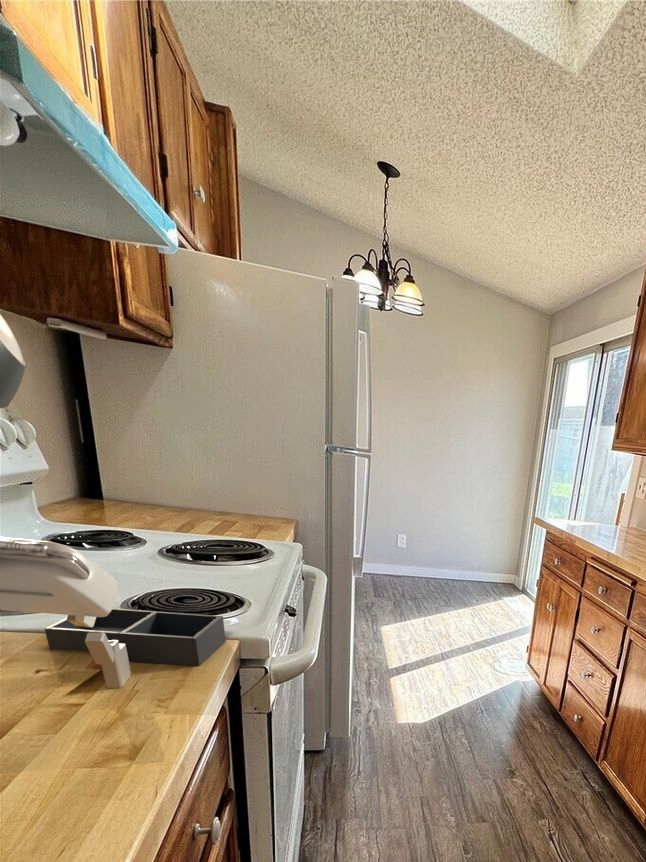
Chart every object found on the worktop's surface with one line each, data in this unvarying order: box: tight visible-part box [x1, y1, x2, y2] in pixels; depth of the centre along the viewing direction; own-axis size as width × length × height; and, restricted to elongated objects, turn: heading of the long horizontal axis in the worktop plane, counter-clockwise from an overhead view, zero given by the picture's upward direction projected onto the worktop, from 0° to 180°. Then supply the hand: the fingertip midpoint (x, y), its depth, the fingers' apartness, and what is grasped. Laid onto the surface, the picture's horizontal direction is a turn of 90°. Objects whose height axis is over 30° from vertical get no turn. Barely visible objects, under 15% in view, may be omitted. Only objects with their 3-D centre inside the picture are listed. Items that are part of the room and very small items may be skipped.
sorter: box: [44, 607, 227, 667], centre depth 79 cm, size 19×10×4 cm, turn 95°
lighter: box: [85, 633, 132, 689], centre depth 68 cm, size 7×2×8 cm, turn 18°
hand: (36, 616), depth 55 cm, fingers open, 8 cm apart
